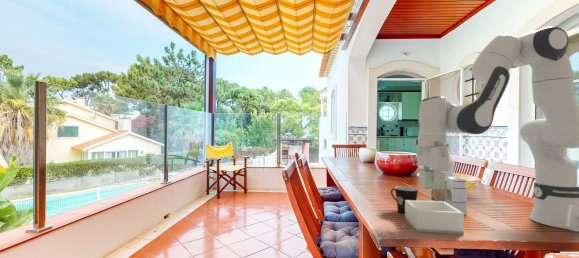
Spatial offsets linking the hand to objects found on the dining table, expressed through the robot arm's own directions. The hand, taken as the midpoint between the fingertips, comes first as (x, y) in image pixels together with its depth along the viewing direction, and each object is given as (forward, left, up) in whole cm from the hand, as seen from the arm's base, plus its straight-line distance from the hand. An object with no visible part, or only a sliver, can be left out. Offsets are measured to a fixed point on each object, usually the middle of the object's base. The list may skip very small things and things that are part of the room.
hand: (431, 180), depth 96 cm
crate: (0, 0, -16) cm, 16 cm away
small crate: (0, 0, -3) cm, 3 cm away
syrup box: (-16, -18, -16) cm, 29 cm away
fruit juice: (-15, -29, -16) cm, 37 cm away
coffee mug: (+5, -16, -16) cm, 23 cm away
